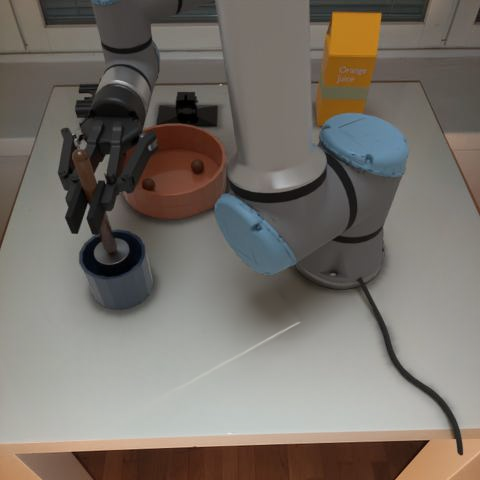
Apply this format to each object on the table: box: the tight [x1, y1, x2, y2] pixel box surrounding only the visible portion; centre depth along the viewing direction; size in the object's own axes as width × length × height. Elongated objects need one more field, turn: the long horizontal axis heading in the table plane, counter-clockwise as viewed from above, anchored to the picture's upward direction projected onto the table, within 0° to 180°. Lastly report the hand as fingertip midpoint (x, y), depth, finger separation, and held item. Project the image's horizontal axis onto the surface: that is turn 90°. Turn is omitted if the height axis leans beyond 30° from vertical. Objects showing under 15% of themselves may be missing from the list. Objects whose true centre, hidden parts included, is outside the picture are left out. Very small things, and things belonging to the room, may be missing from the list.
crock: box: [78, 228, 154, 311], centre depth 71 cm, size 9×9×8 cm
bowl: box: [122, 124, 227, 220], centre depth 85 cm, size 19×19×6 cm
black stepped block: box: [155, 91, 219, 128], centre depth 97 cm, size 12×7×5 cm, turn 90°
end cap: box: [74, 77, 102, 129], centre depth 95 cm, size 10×7×7 cm
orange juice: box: [314, 11, 383, 127], centre depth 91 cm, size 8×9×20 cm
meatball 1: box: [142, 178, 155, 191], centre depth 85 cm, size 2×2×2 cm
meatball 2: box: [191, 159, 204, 173], centre depth 88 cm, size 2×2×2 cm
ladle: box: [72, 148, 133, 277], centre depth 62 cm, size 5×5×20 cm
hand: (82, 226), depth 56 cm, fingers closed on ladle, 2 cm apart
